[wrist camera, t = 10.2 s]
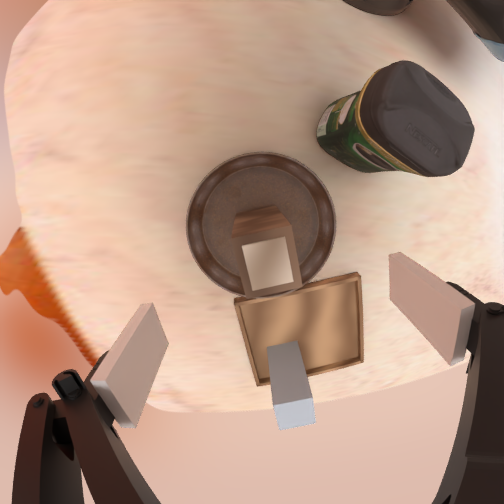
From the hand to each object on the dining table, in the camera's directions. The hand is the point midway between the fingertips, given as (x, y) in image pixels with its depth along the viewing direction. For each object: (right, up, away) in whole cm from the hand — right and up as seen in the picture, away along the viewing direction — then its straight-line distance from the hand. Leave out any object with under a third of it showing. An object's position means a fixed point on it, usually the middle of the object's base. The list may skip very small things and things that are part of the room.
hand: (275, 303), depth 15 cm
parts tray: (+6, -9, +25) cm, 27 cm away
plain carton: (+4, -13, +26) cm, 29 cm away
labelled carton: (0, +5, +18) cm, 19 cm away
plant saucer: (0, +6, +21) cm, 22 cm away
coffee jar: (+11, +17, +18) cm, 27 cm away
